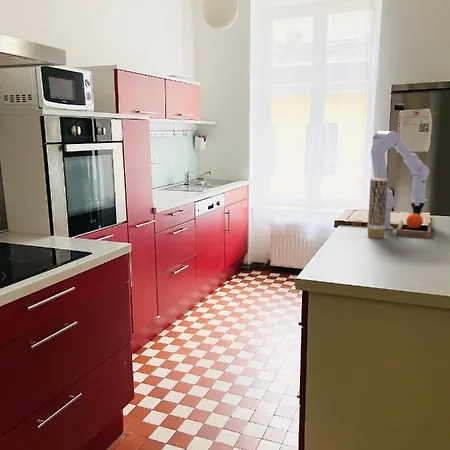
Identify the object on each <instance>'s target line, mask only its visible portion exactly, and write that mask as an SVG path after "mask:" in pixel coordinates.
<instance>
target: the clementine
mask: <svg viewBox="0 0 450 450" xmlns="http://www.w3.org/2000/svg"><path fill="white" fill-rule="evenodd" d="M423 217H424V219H425V216H424V215H423V214H421V213H420V214H414V213H411V214H409V215H408V216H407V218H406V225H407V227H409V228H411V229H418V228H420V227H421V226H422V225H423V221H424V220H423Z"/></svg>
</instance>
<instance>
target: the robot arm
mask: <svg viewBox="0 0 450 450" xmlns="http://www.w3.org/2000/svg"><path fill="white" fill-rule="evenodd" d="M392 148H394V149H395V150H396V152H398V153H399V155H401V156H402V157H403V163H404V164H405V165H406V166H407V168H409V170H410V174H411V175H412V188H411V189H412V190H411V199H410V201H411V203H410V205H411V208H412V214H421V212H422V210H423V207H424V206H425V203H424V202H427V201H428V199H427V198H426V187H427V186H426V185H427V180H428V176H429V174H430V173H431V172H430V171H431V170H430V169H429V166H428V165H427V164H424V163H423V161H422V160H420V158H419V157H418V153H414V152H410V150H409V149H408V148H407V146H406V145H405V143H404V142H403V141H402V139H401V136H400V135H399V134H398V133H397V132H396V131H395V130H391V131H390V130H389V131H388V130H378V131H377V132H375V134H374V135H373V136H372V146H371V151H370V154H371V156H370V157H371V162H372V171H373V178H386V179H388V173H387V165H386V164H387V163H386V157H385V153H387V151H389V150H390V149H392ZM425 198H426V199H425ZM395 205H396V200H395V197H394V195H393V191H392V190H391V189H390V187H389V183H388V184H387V200H386V217H385V230H393V229H394V227H392V226H391V214H392V209H393V208H394V207H395ZM368 219H369V212H368V216H367V220H368ZM366 226H367V227H368V224H367V225H366Z"/></svg>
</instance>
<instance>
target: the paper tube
mask: <svg viewBox="0 0 450 450" xmlns="http://www.w3.org/2000/svg"><path fill="white" fill-rule="evenodd" d="M387 184H388V185H389V182H388V178H387V179H386V178H374V177H372V178H370V182H369V185H370V187H369V204H368V205H369V206H368V213H369V219H368V218H367V225H368V226H367V237H368V238H371V239H377V240H378V239H383V238H384V237H385V232H386V231H385V230H386V229H385V217H386V200H387Z"/></svg>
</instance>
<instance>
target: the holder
mask: <svg viewBox="0 0 450 450" xmlns="http://www.w3.org/2000/svg"><path fill="white" fill-rule="evenodd" d="M403 226H404V220H400V221H399V224H398V226H397V228H396V235H395V236H397V237H398V236H400V237H410V238H411V237H412V238H420V239H421V238H422V239H423V238H424V239H431V233H432V231H431V230H432V222H428V225H427V231H425V230H412V229H411V230H410V229H403Z"/></svg>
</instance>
